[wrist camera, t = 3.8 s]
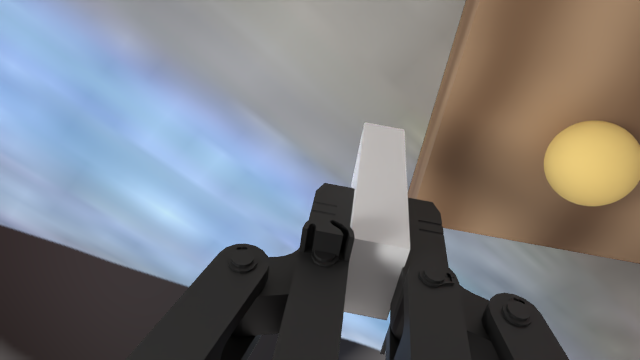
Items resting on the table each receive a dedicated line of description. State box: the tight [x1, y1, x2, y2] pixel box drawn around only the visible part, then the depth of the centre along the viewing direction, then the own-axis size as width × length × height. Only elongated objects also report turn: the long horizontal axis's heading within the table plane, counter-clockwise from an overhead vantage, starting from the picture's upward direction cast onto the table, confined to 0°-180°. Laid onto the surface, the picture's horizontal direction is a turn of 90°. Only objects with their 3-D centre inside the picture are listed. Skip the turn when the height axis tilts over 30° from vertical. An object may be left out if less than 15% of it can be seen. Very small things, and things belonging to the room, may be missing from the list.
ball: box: [544, 121, 640, 206], centre depth 18 cm, size 4×4×4 cm
